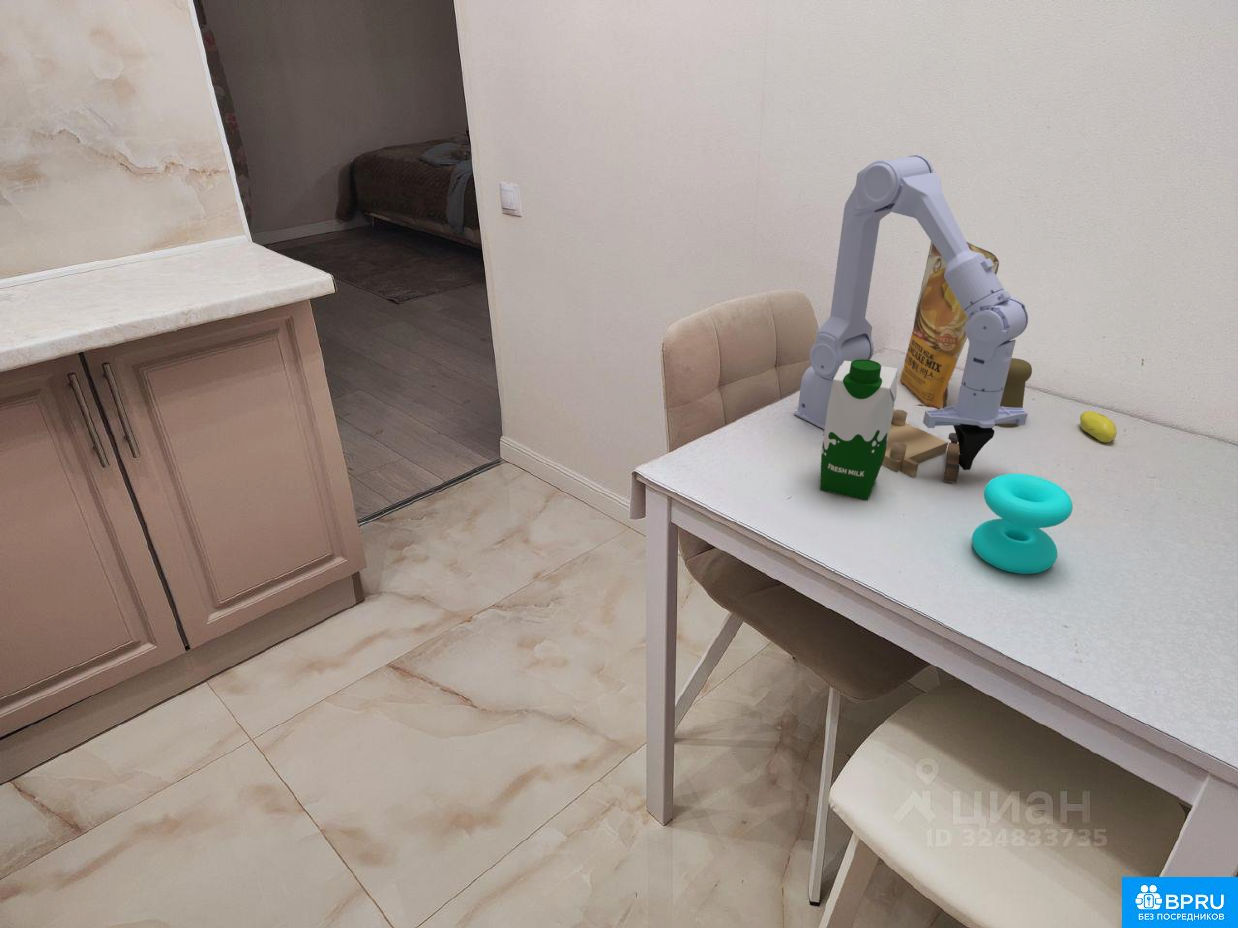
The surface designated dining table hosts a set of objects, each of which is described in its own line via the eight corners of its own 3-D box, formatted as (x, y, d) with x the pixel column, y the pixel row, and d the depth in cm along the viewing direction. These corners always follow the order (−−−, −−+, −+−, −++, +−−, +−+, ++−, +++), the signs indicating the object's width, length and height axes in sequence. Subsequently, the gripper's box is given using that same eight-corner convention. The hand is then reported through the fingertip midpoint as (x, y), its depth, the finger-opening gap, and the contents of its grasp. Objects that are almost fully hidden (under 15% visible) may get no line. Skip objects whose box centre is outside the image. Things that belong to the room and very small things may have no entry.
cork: (1024, 429, 134) (1041, 368, 129) (986, 426, 135) (1001, 366, 130) (1016, 414, 139) (1032, 355, 134) (980, 411, 140) (994, 353, 135)
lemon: (1094, 446, 129) (1101, 425, 127) (1070, 424, 136) (1077, 404, 134) (1120, 446, 129) (1127, 425, 127) (1095, 425, 136) (1101, 404, 134)
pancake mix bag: (921, 371, 156) (950, 228, 143) (968, 412, 140) (1006, 254, 126) (889, 373, 156) (914, 229, 142) (932, 414, 139) (965, 256, 126)
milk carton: (812, 492, 116) (829, 365, 107) (825, 464, 123) (842, 344, 114) (873, 505, 113) (897, 376, 103) (883, 476, 120) (906, 353, 110)
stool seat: (846, 446, 129) (849, 425, 127) (898, 427, 135) (902, 407, 133) (908, 478, 120) (913, 456, 118) (961, 456, 126) (966, 435, 124)
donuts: (1072, 519, 92) (980, 496, 96) (1049, 587, 96) (963, 563, 101) (1078, 481, 99) (993, 462, 103) (1056, 547, 104) (976, 526, 108)
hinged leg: (945, 455, 125) (948, 441, 124) (957, 457, 125) (960, 443, 123) (943, 480, 118) (946, 466, 117) (956, 482, 118) (959, 468, 116)
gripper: (944, 397, 109) (927, 481, 116) (1046, 393, 110) (1023, 478, 116) (924, 377, 115) (909, 459, 122) (1021, 374, 116) (1000, 455, 123)
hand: (963, 467), depth 120 cm, fingers closed, pressing on hinged leg
